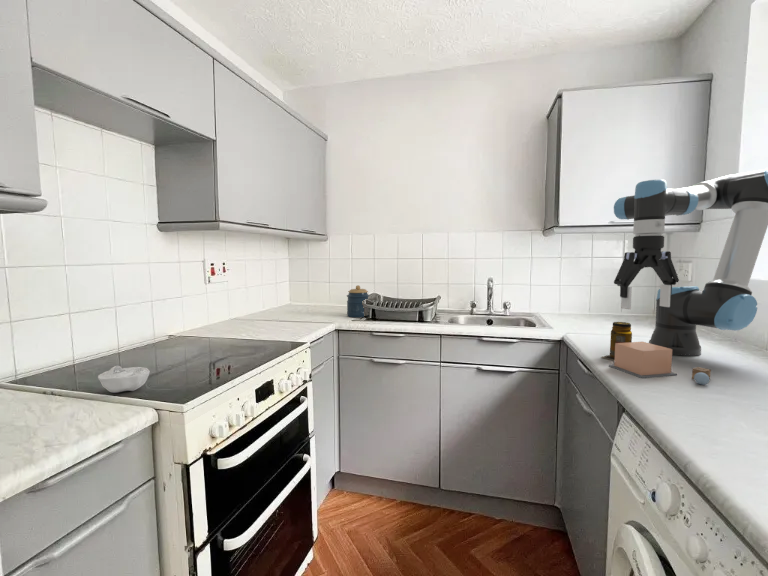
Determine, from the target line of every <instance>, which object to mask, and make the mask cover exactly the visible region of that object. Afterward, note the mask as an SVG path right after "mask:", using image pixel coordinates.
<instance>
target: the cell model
mask: <svg viewBox="0 0 768 576" xmlns="http://www.w3.org/2000/svg"><path fill="white" fill-rule="evenodd" d="M150 373H151V371H150V369H148V368H147V367H143V366H134V367H123V368H122V366H120V365H115V366H113V367H111V368H110V369H109V370H106V371H104V372H101V373H100V374H98V375H97V379H98V381H99V382H100V383H101V386H102V387H103V388H104V389H106V390H107V391H108V392H110V393H115V394H116V393H123V392H127V391H130V392H133V391H136V390H138V389H140V388H142V386H144V384H146V382H147V380H148V379H149V375H150Z"/></svg>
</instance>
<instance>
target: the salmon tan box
mask: <svg viewBox="0 0 768 576" xmlns="http://www.w3.org/2000/svg"><path fill="white" fill-rule="evenodd" d="M672 359H673V354H672V349H670V348H666V347H662V346H658V345H654V344H650V343H649V342H646V341H633V342H628V343H615V361H613V362H614V364H613V365H614V366H617V367H620V368H623V369H625V370H628V371H631V372H634V373H637V374H639V375H653V374H664V373H671V372H672V364H673V363H672Z"/></svg>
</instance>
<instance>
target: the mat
mask: <svg viewBox="0 0 768 576" xmlns="http://www.w3.org/2000/svg"><path fill="white" fill-rule="evenodd" d="M608 367H610V368H613V369H616V370H618V371H621V372H624V373H626V374H629V375H632V376H634V375H635V376H634V377H638V378H640V377H641V378H640V379H646V378H647V377H648V378H647V379H649V377H650V378H660V377H669V376H670V377H671V376H672V375H673V376H678V374H677V373H675V372H672V371H671V373H664V374H653V375H639V374H637V373H634V372H631V371H628V370H625V369H623V368H620V367H617V366H614V364H609V365H608Z"/></svg>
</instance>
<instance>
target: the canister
mask: <svg viewBox="0 0 768 576" xmlns="http://www.w3.org/2000/svg"><path fill="white" fill-rule="evenodd" d="M346 297H347V301H346V307H347V308H346V311H347V312H346V315H347V317H348V316H349V318H365V317H364V308H363V305H362V301H363V300H365V299H368V297H370V294H369V291H368V290H367V289H366V288H361V286H360V285H356V286H355V288H352V289H350V290H348V294H347V295H346Z"/></svg>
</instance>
